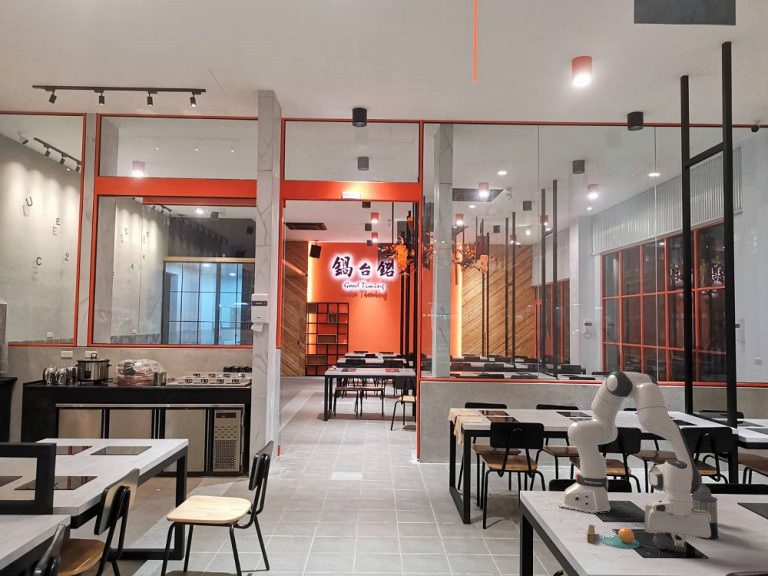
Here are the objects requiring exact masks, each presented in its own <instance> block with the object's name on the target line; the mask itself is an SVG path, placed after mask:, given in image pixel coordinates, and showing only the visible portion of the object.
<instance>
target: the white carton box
mask: <svg viewBox="0 0 768 576" xmlns="http://www.w3.org/2000/svg"><path fill="white" fill-rule="evenodd" d="M644 507H645V509H644V532H645V533H649V534H652V533H654V534H653V535H656V534H657V533H664V534H665V533H667V532H661V531H653V530H650V529H649V527H648V517H649V512H650V510H651V509H652V505H648V504H646V505H645V506H644Z"/></svg>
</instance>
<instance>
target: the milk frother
mask: <svg viewBox="0 0 768 576" xmlns="http://www.w3.org/2000/svg"><path fill="white" fill-rule="evenodd" d="M690 495H691V498H692V508H693V509H699V510H706V511H707V512H709V513H710V514H711V522H710V523H709V524H710V529H711V536H710V537H709V538H704V537H697V536H695V537H697V538H700V539H704V540H709V541H710V540H714V541H715V540H718V539H719V538H720V536H719V530H718V527H719V526H718V523H719V522H718V504H717V503H718V502H717V501H718V498H717V497H715V496H709V495H703V494H693V495H692V494H690ZM700 513H701V512H700Z"/></svg>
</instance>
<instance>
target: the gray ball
mask: <svg viewBox="0 0 768 576" xmlns="http://www.w3.org/2000/svg"><path fill="white" fill-rule="evenodd" d="M652 540H653V544H654V545H655V547H657V548H658V549H659V550H667V549H668V548H669V547H670V546H671V540H670V538H669V536H668V535H667V534H664V533H657V534H654V536H653V539H652Z"/></svg>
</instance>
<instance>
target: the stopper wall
mask: <svg viewBox="0 0 768 576" xmlns="http://www.w3.org/2000/svg"><path fill="white" fill-rule="evenodd" d="M595 528H596V527H595V524H588V528H587V533H586V534H587V535H586V537H587V539H586V541H587V543H588V542H589V544H594V539H595V534H594V533H596V531H595Z"/></svg>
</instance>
